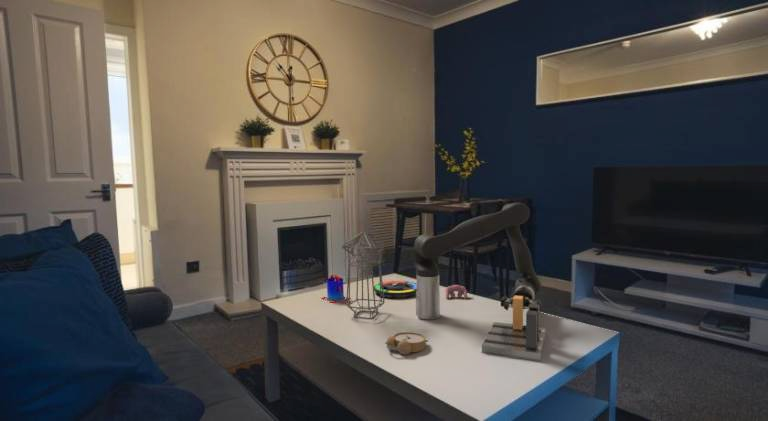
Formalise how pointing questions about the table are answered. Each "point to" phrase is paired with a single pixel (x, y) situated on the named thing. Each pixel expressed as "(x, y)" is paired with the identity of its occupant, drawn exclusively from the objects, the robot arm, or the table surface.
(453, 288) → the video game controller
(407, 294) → the electronic game
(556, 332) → the table surface
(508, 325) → the grey slotted base
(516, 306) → the orange rectangular block
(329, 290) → the fantasy tower
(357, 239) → the geometric lantern
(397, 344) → the alarm clock
